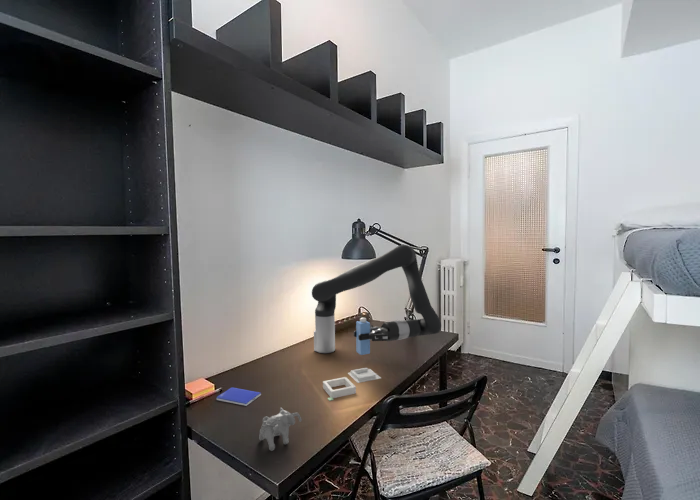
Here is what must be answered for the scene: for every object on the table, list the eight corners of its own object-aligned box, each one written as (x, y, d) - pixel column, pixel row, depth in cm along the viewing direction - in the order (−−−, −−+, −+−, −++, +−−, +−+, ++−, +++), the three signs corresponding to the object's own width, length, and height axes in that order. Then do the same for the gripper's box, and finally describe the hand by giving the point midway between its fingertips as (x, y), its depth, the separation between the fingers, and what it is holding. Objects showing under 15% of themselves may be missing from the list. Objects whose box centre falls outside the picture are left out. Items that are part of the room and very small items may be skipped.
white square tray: (370, 370, 143) (369, 365, 143) (381, 380, 134) (381, 375, 134) (347, 374, 139) (347, 370, 139) (357, 385, 130) (357, 379, 130)
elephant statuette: (252, 445, 95) (251, 417, 94) (283, 424, 105) (282, 398, 104) (277, 456, 90) (276, 427, 89) (307, 433, 100) (306, 406, 99)
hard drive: (216, 396, 120) (246, 402, 116) (232, 386, 128) (261, 392, 124) (216, 401, 120) (246, 407, 116) (232, 390, 128) (261, 396, 124)
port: (348, 382, 132) (348, 374, 132) (361, 396, 121) (361, 387, 121) (317, 388, 128) (317, 380, 127) (328, 403, 117) (328, 394, 116)
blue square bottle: (365, 350, 139) (365, 316, 138) (370, 353, 135) (370, 319, 134) (356, 351, 137) (356, 317, 137) (360, 355, 134) (360, 320, 133)
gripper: (386, 317, 148) (349, 321, 141) (404, 325, 135) (364, 331, 128) (386, 334, 148) (349, 339, 142) (404, 345, 135) (364, 351, 128)
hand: (356, 335), depth 135 cm, fingers closed on blue square bottle, 4 cm apart
